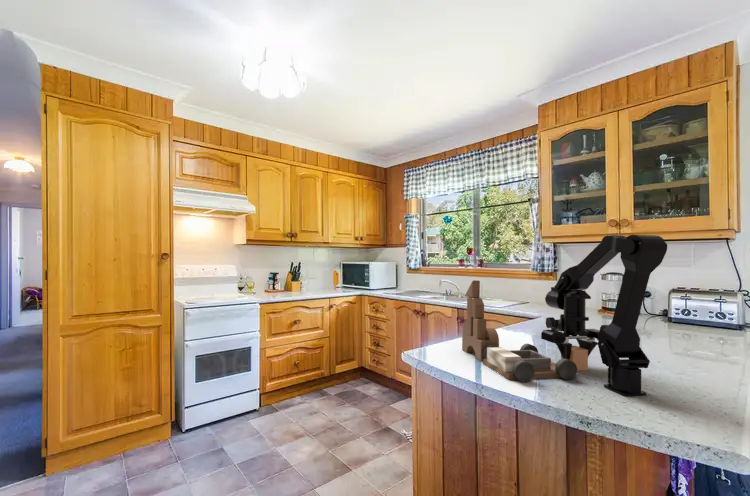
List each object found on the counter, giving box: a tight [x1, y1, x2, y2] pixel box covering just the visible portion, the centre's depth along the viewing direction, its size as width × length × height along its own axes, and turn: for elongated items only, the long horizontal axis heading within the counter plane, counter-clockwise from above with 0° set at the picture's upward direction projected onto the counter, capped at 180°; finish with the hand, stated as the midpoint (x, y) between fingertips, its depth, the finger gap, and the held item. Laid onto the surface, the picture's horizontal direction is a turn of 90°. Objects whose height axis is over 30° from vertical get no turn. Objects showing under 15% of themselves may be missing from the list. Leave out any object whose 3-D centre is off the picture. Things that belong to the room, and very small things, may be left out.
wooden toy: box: [461, 280, 500, 362], centre depth 118 cm, size 16×7×25 cm, turn 11°
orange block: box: [560, 345, 589, 372], centre depth 105 cm, size 5×5×6 cm
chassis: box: [482, 343, 578, 383], centre depth 102 cm, size 18×20×6 cm
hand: (574, 364), depth 105 cm, fingers closed on orange block, 5 cm apart
